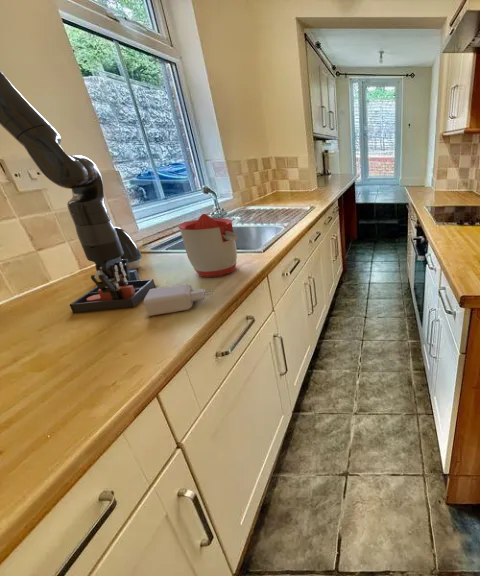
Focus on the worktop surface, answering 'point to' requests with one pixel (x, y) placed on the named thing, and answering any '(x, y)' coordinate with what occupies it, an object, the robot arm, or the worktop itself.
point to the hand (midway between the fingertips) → (122, 300)
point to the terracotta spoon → (125, 290)
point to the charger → (172, 299)
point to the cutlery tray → (140, 292)
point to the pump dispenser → (129, 249)
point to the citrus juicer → (210, 245)
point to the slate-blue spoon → (132, 275)
